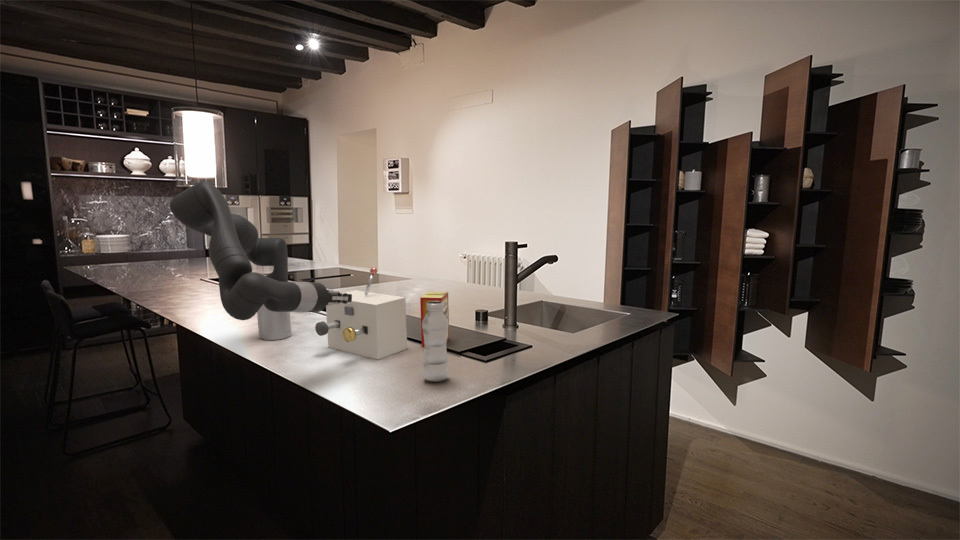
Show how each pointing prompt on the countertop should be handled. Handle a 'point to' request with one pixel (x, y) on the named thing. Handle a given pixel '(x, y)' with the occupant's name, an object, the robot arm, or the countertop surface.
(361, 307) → the console
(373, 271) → the toggle lever
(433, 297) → the baking soda box
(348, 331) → the brass plunger
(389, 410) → the countertop surface
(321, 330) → the black plunger
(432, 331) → the plastic bottle
